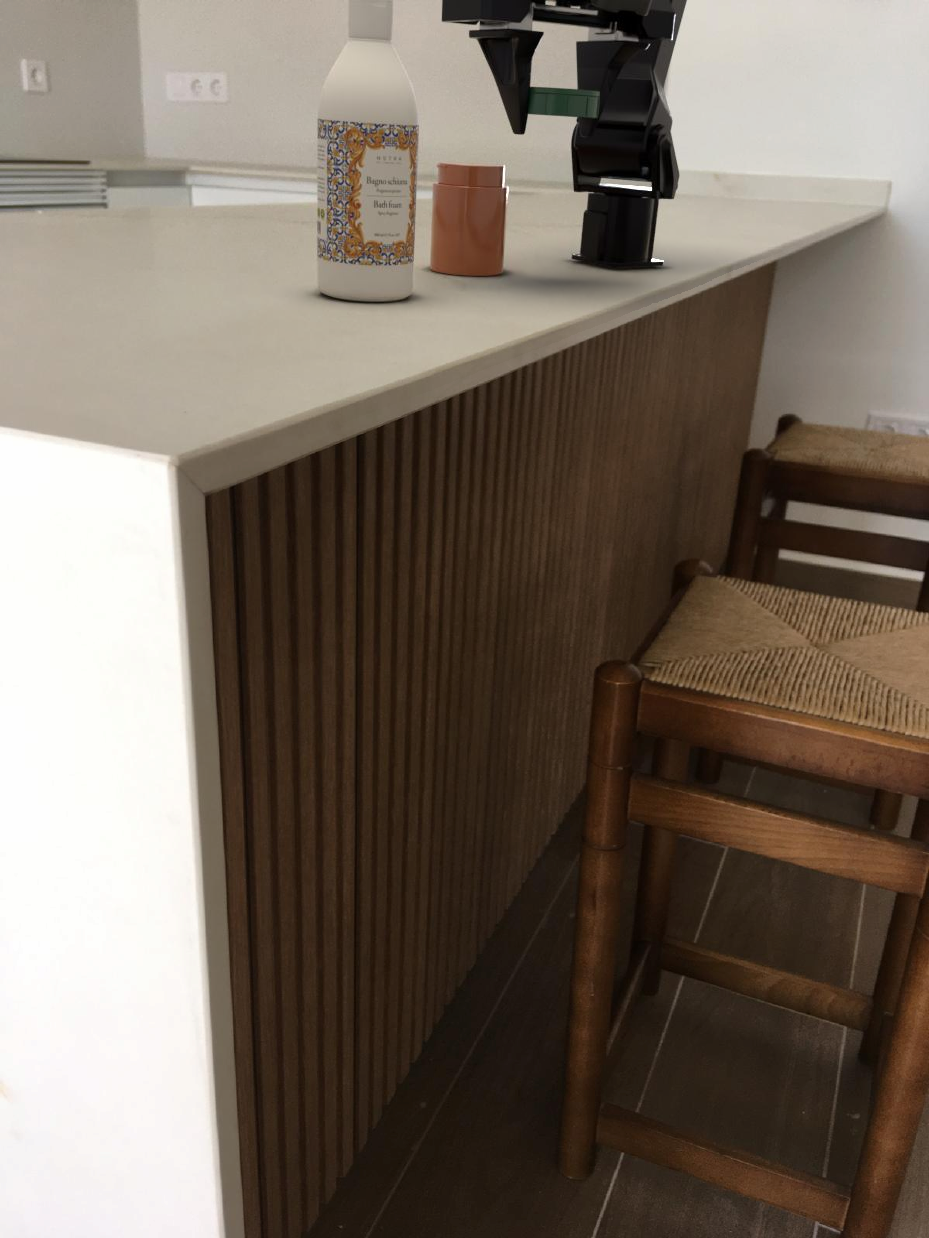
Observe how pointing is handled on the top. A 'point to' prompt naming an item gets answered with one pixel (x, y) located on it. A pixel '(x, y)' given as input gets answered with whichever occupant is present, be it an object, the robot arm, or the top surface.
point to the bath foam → (367, 165)
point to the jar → (469, 219)
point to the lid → (564, 102)
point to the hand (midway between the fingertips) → (553, 135)
